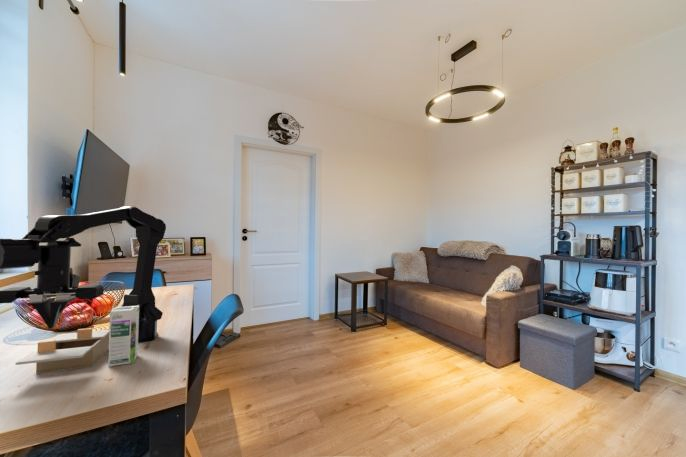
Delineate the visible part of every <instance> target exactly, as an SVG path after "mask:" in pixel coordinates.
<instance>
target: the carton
mask: <svg viewBox="0 0 686 457" xmlns="http://www.w3.org/2000/svg"><path fill="white" fill-rule="evenodd" d="M88 346H93V347H92V349H91V350H90V351H88V352H87V353H86V354H85V355H84V356H83V357H81V358H72V359H64V360H55V361H46V362H37V363H35V364H36V366H35V368H36V369H35V371H36V372H35V374H40V373H51V372H58V371H65V370H66V371H67V370H73V369H81V368H89V367H90V368H91V367H93V366H94V365H96V364H97V362H99V360H100V359H101V358H103V356H104V355H105V354H106V353H108V352H109V334H108V335H106V336H105V337H104V338H101V339H90V340H80V341H69V342H59V343H56V349H55V350H58V349H68V348H78V347H88Z"/></svg>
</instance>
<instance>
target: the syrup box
mask: <svg viewBox="0 0 686 457" xmlns="http://www.w3.org/2000/svg"><path fill="white" fill-rule="evenodd" d="M138 328H139V305H137V306H126V307H122V306H116V307H115V306H114V308H112V310H111V311H110V313H109V330H110V333H109V350H108V358H107V359H108V362H107V366H108V368H111V367H114V366H115V367H116V366H121V365H129V364H134V363H135V362H136V359H137V357H138V351H139V348H138V347H139V342H138Z"/></svg>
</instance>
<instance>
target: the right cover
mask: <svg viewBox="0 0 686 457" xmlns="http://www.w3.org/2000/svg"><path fill="white" fill-rule="evenodd" d="M109 333H110V329H103V330H102V329H101V330H93V327H89V328H78V329H77V330H76V332H69V333H60V334H59V335H57V336H56V337H54V338H52V339H51V340H56V343H59V342H69V341H80V340H90V339H101V338H104V337H105V336H106V335H108V334H109Z"/></svg>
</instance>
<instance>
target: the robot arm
mask: <svg viewBox="0 0 686 457" xmlns="http://www.w3.org/2000/svg"><path fill="white" fill-rule="evenodd" d="M119 222H126V223H127V224H128V225H129V226H130V227H131V228H133V229H135V237H136V240H137V241H138V243H139V246H138V254H137V260H136V266H135V268H136V269H135V275H134V280H133V287H132V290H131V291H130V292H129V293H128V294H127V293H125V294H124V295H123V301H122V305H121V307H126V306H137V305H139V328H138V343H139V342H140V343H141V342H148V341H149V342H150V341H154V340H155V339H156V338H157V336H158V334H159V332H157V331H158V329H157V328H158V321H159V320H162V317H163V314H164V313H163V311H161V310H160V309H159V308H158V307H157V306H156V295H155V294H154V292H153V289H152V286H153V280H154V274H155V273H154V271H155V264H156V258H157V249H158V246H159V244H160V243H161V241H162V240H163V239H164V237H165V234H166V230H167V224H166V223H165V222H164V221H163V220H162V219H160V218H157V217H155V216H154V215H151V214H150V213H146V212H145V211H143V210H141V209H140V208H138V207H136V206H121V207H119V208H118V207H117V208H112V209H107V210H101V211H96V212H95V211H94V212H90V213H84V214H64V215H63V214H62V215H61V214H59V215H57V214H53V215H52V214H51V215H43V216H40V217H38V219H37V221H36V222H35V224H34V226H33V228H32V229H30V230H29V232H27V233H26V234H25V235H24V237H22V238H19V239H17V238H16V239H15V238H0V270H10V269H23V268H31V267H33V266H35V265H36V264H37V270H34V276H37V277H36V278H37V285H36V287H35V288H33V289H32V288H31V287H30V286H21V287H20V286H17V287H8V288H4V289H2V290H0V304H12V303H14V302H15V301H17V300H19V299H29V302H27V303H26V304H27V306H31V307H33V308H34V310H35V311H36V312H37V313H38V315H39V316H40V317H41V318H42V320H43V322H44V323H45V324H46V326H47V328H48V329H55V327H56V326H57V324H58V322H59V320H60V318H61V315H62V314H63V311H64V309H65V308H66V307H67V305H68V303H70V302H73V301H74V300H76V299H78V300H90V299H91V300H92V299H97V298H98V297H101V296H103V295H104V285H102V284H101V283H99V284H97V283H96V284H84V285H82V286H79V285H80V279H81V276H79V275H77V274H75V273H73V268H72V267H71V254H72V253H71V252H72V248H73V247H74V248H75V247H76V248H78V247H81V246H82V244H81V242H78V240H76V239H75V237H73V236H76V235H78V234H81V233H83V232H84V231H86V230H89V229H91V228H96V227H97V228H98V227H101V226H104V225H109V224H110V225H111V224H114V223H119ZM60 239H64V240H60ZM44 243H45V244H44Z"/></svg>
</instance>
